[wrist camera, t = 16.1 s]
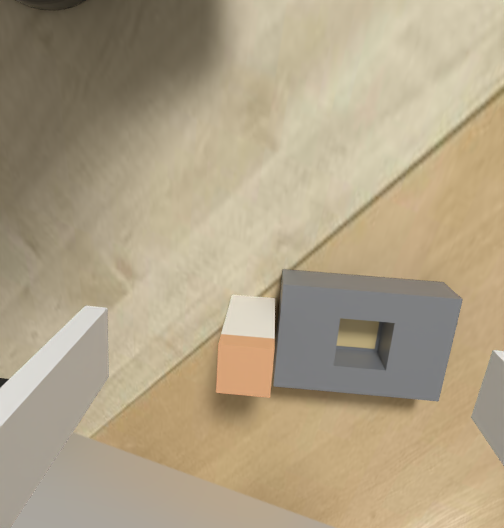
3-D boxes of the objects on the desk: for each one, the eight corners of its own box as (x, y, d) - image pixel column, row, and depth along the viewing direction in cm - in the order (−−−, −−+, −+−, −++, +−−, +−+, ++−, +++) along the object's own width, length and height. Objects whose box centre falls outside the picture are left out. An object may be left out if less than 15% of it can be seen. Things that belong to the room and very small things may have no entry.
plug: (229, 333, 50) (216, 392, 38) (232, 294, 48) (218, 344, 37) (271, 336, 50) (270, 397, 38) (274, 298, 48) (274, 349, 37)
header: (273, 362, 51) (273, 386, 46) (282, 269, 47) (283, 284, 42) (423, 375, 50) (438, 401, 45) (443, 282, 46) (462, 299, 42)
